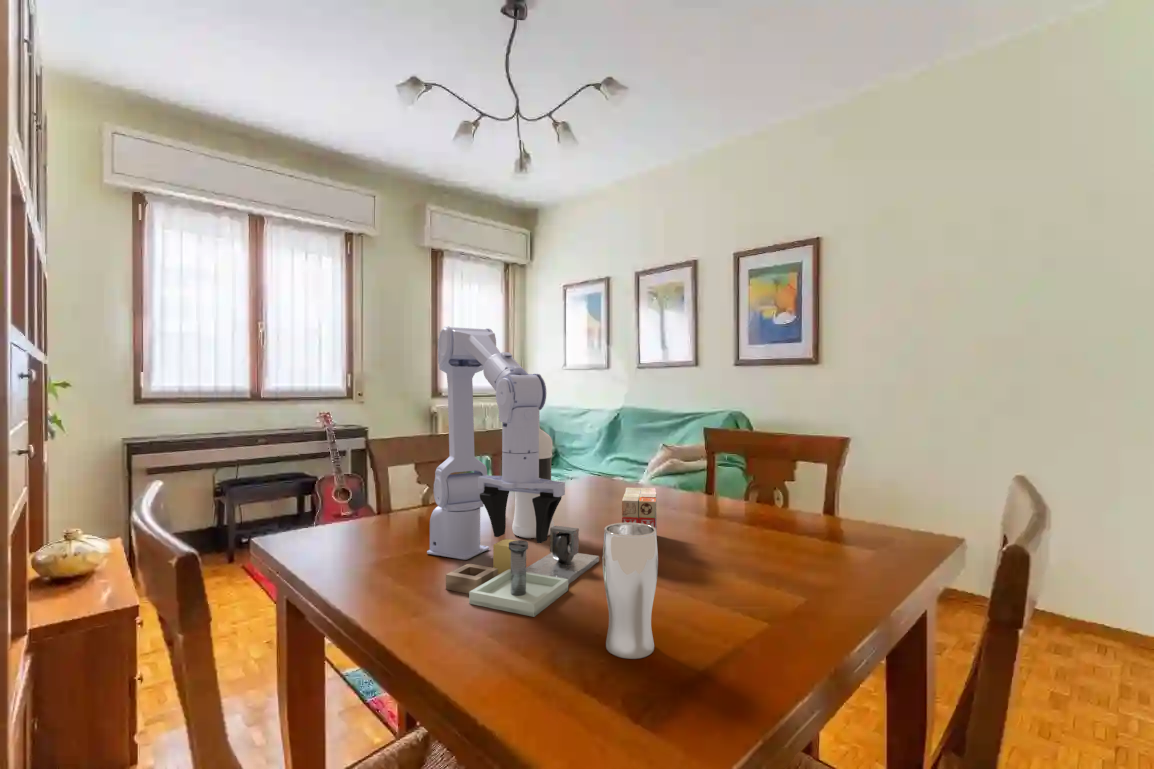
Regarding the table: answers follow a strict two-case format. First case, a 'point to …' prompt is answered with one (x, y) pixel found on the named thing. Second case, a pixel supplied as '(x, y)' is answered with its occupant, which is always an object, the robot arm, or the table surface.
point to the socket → (469, 577)
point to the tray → (532, 603)
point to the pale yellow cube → (502, 555)
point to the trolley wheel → (563, 556)
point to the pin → (518, 567)
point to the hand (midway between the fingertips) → (520, 538)
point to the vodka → (523, 501)
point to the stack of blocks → (639, 506)
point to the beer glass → (630, 587)
